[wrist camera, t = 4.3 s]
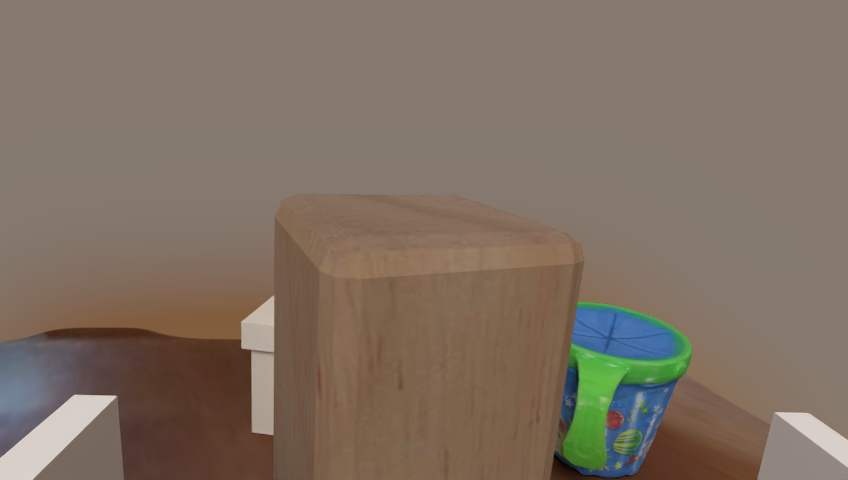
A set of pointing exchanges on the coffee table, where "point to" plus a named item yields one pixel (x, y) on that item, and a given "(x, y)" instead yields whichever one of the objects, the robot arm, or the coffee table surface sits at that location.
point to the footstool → (261, 365)
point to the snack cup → (617, 388)
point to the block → (418, 339)
